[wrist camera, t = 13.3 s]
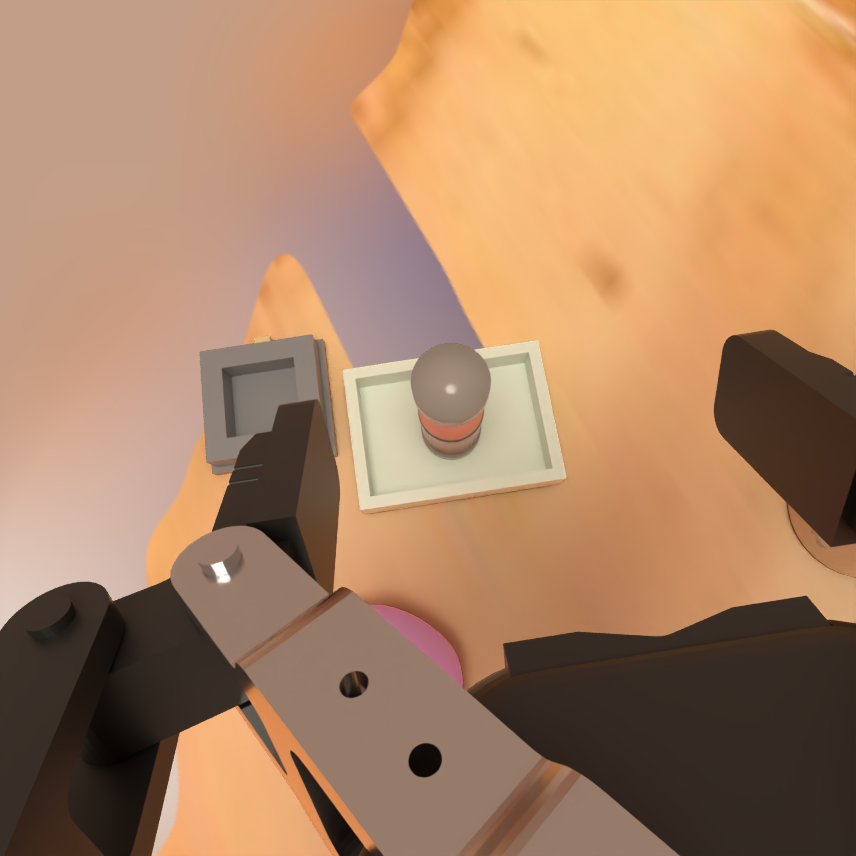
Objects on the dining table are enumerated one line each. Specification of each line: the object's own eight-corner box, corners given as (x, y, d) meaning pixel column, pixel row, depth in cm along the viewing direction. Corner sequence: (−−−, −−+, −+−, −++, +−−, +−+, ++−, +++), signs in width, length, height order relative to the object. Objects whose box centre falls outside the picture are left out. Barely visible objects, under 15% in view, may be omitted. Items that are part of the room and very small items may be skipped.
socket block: (323, 333, 45) (315, 318, 42) (339, 467, 42) (332, 460, 40) (208, 351, 45) (193, 337, 42) (217, 485, 42) (201, 480, 40)
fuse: (475, 399, 42) (484, 337, 31) (484, 455, 42) (497, 413, 30) (418, 407, 42) (405, 349, 31) (426, 463, 42) (416, 425, 30)
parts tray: (531, 354, 44) (537, 339, 41) (558, 484, 42) (566, 478, 39) (349, 382, 44) (342, 369, 41) (365, 514, 42) (359, 510, 39)
